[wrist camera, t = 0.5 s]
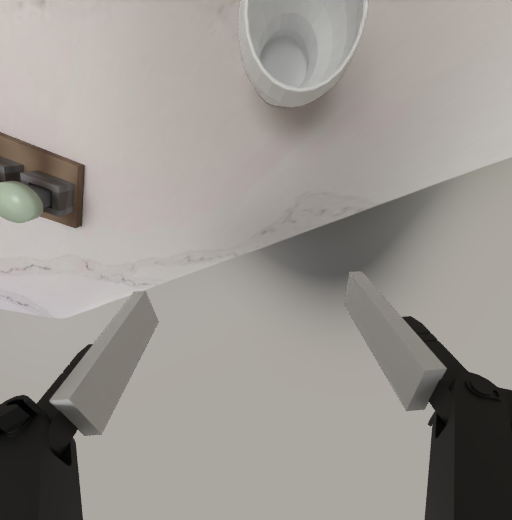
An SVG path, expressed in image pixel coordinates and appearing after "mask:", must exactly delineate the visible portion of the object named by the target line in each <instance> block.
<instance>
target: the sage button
mask: <svg viewBox="0 0 512 520" xmlns="http://www.w3.org/2000/svg"><path fill="white" fill-rule="evenodd" d="M50 206H52V191H51V190H48V189H45V188H42V187H40V186H37V185H29V186H27V185H25V184H23V183H21V182H17V181H6V182H0V216H1V217H3V218H4V219H6V220H9V221H11V222H15V223H23V222H27V221H30V220H32V219H35V218H38V217H40V216H41V214H42V213H43V208H46V207H50Z"/></svg>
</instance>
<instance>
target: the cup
mask: <svg viewBox="0 0 512 520" xmlns="http://www.w3.org/2000/svg"><path fill="white" fill-rule="evenodd" d="M367 6H368V0H241V1H240V5H239V19H238V34H239V43H240V51H241V59H242V62H243V65H244V68H245V71H246V74H247V76H248V78H249V79H250V81H251V83H252V84H253V86H254V88H255V89H256V90H257V91H258V93H259V95H260V96H261V97H262V98H263V99H264V100H265V101H266V102H267V103H269V104H271V105H274V106H284V107H290V108H291V107H298V106H304V105H306V104H308V103H310V102H312V101H314V100H316V99H318V98H319V97H321V96H322V95H323V94H324V93H326V92H327V91H328V90H329V89H330V88H331V87H333V86H334V85H335V83H336V82H337V81H338V79H339V78H340V77H341V75H342V74H343V72H344V71H345V70H346V68H347V66H348V64H349V62H350V60H351V58H352V55H353V53H354V51H355V49H356V47H357V45H358V43H359V41H360V38H361V35H362V31H363V28H364V24H365V20H366V16H367Z"/></svg>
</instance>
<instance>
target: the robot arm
mask: <svg viewBox="0 0 512 520" xmlns="http://www.w3.org/2000/svg"><path fill="white" fill-rule="evenodd" d="M345 307H346V309H347V311H348V312H349V314H350V316H351V318H352V319H353V321H354V323H355V324H356V326H357V328H358V330H359V331H360V333H361V335H362V336H363V338H364V340H365V341H366V343H367V345H368V347H369V348H370V350H371V352H372V353H373V355H374V357H375V359H376V360H377V362H378V363H379V365H380V367H381V369H382V370H383V372H384V374H385V376H386V377H387V379H388V381H389V382H390V384H391V386H392V387H393V389H394V391H395V393H396V394H397V396H398V398H399V400H400V401H401V403H402V405H403V406H404V408H405V410H406V411H411V410H424V409H425V408H426V406H427V404H428V402H430V404H431V405H432V407H433V408H434V410H435V412H434V414H433V415H432V417H431V419H430V420H429V423H428V425H429V426H432V424H433V426H432V438H431V450H430V463H429V475H428V487H427V498H426V510H425V520H512V390H508V389H503V388H499V387H497V386H495V385H494V384H493V383H492V382H490V381H489V380H487V379H485V378H483V377H481V376H480V375H477V374H474V373H470V372H468V371H467V370H466V369H465V368H464V367H463V366H462V365H461V364H460V363H459V362H458V361H457V360H456V358H455V357H453V355H452V354H451V353H450V352H449V351H448V350H447V349H446V348H445V347H444V346H443V345H442V344H441V343H440V342H439V341H437V339H436V338H435V337H434V336H433V335H432V334H431V333H430V331H429V330H428V329H427V328H426V327H425V326H424V325H423V324H422V323H420V322H419V321H417V320H416V319H414V318H413V317H411V316H409V317H401V316H400V315H399V313H398V312H397V311H396V310H395V309H394V308H393V307H392V305H391V304H390V303H389V302H388V301H387V300H386V299H385V297H384V296H383V295H382V294H381V293H380V292H379V291H378V289H377V288H376V287H375V286H374V285H373V284H372V283H371V282H370V280H369V279H368V278H367V277H366V276H365V275H364V274H363V272H362V271H359V272H349V278H348V285H347V293H346V299H345ZM158 322H159V321H158V319H157V317H156V314H155V312H154V310H153V307H152V305H151V303H150V300H149V298H148V296H147V293H146V291H138V292H133V294H132V295H131V296H130V297H129V299H128V300H127V301H126V303H125V304H124V305H123V307H122V308H121V309H120V311H119V312H118V313H117V314H116V315H115V317H114V318H113V319H112V321H111V322H110V323H109V324H108V326H107V327H106V328H105V330H104V331H103V332H102V333H101V335H100V336H99V337H98V339H97V340H96V341H95V342H94V344H89V345H87V346H86V347H85V348H84V349H83V350H81V351H80V352H79V353H78V354H77V355H76V356H75V358H74V359H73V360H72V361H71V362H70V365H68V366H67V367H66V369H65V370H64V371H63V373H62V374H61V375H60V376H59V377H58V378H57V380H56V381H55V382H54V383H53V385H52V386H51V387H50V388H49V389H48V391H47V392H46V393H45V394H44V395H43V397H42V398H41V399H40V400H39V402H38V403H37V404H36V403H35V402H34V401H32V400H31V399H30V398H29V397H28V396H25V395H21V396H16V397H13V398H11V399H9V400H7V401H5V402H4V403H2V404H0V520H83V516H82V505H81V494H80V484H79V473H78V463H77V452H76V443H75V440H74V438H73V436H74V434H75V433H76V431H77V429H78V430H79V431H80V432H81V433H82V434H83V435H84V436H87V435H101V434H102V433H103V431H104V429H105V427H106V425H107V423H108V421H109V419H110V417H111V415H112V413H113V411H114V409H115V407H116V405H117V403H118V401H119V399H120V397H121V395H122V393H123V391H124V389H125V387H126V385H127V383H128V382H129V379H130V378H131V376H132V374H133V372H134V370H135V368H136V366H137V364H138V362H139V360H140V358H141V356H142V354H143V352H144V350H145V348H146V346H147V344H148V342H149V340H150V338H151V336H152V334H153V332H154V330H155V328H156V326H157V324H158Z"/></svg>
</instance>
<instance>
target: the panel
mask: <svg viewBox="0 0 512 520" xmlns="http://www.w3.org/2000/svg"><path fill="white" fill-rule="evenodd" d="M6 181H17V182H21V183H23V184H25V185H27V186H29V185H37V186H40V187H42V188H45V189H48V190H51V191H52V206H50V207H46V208H43V213H42V214H41V217H44V218H47V219H50V220H53V221H56V222H59V223H62V224H65V225H68V226H71V227H74V228H77V227H79V226H81V225H82V207H83V184H84V165H82V164H80V163H77V162H75V161H72V160H70V159H67V158H64V157H62V156H59V155H57V154H54V153H52V152H49V151H47V150H44V149H42V148H39V147H36V146H34V145H31V144H29V143H26V142H24V141H21V140H19V139H16V138H13V137H11V136H8V135H6V134H3V133H1V132H0V182H6Z"/></svg>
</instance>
